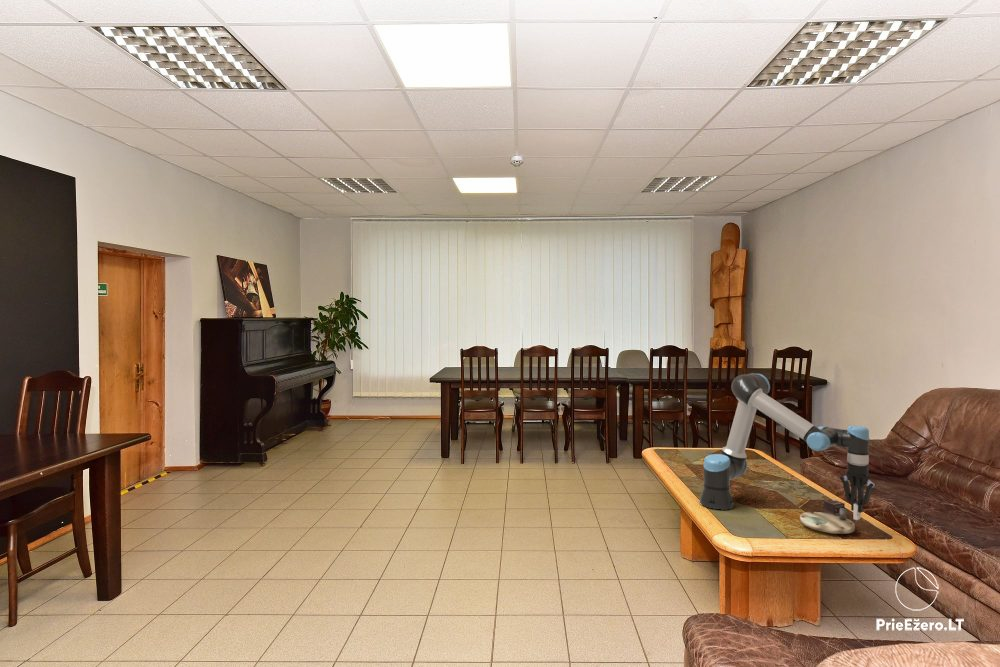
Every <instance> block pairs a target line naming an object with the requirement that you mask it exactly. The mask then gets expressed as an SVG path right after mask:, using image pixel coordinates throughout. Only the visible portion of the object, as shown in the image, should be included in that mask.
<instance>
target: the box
mask: <svg viewBox="0 0 1000 667" xmlns="http://www.w3.org/2000/svg"><path fill="white" fill-rule="evenodd" d="M840 508H844V509H846V508H845V503H844V502H842V501H839V500H836V499H827V500H825V499H824V500H823V507H822V510H823V512H822V513H829V514H834V515H838V516H840Z"/></svg>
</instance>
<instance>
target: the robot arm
mask: <svg viewBox="0 0 1000 667" xmlns="http://www.w3.org/2000/svg"><path fill="white" fill-rule="evenodd" d="M730 387H731V391H732V393H733V395H734V397H735V398H736V399H737V406H736V410H735V414H734V416H733V421H732V424H731V428H730V431H729V435H728V438H727V442H726V446H723V447H722V448H721V451H720V453H714V454H708V455H707V456H705V457H704V459H703V487H702V488H703V489H702V491H701V494H700V495H699V496H700V497H699V504H700V503H701V504H702V505H704V506H706V507H705V508H707V507H709V508H708V509H710V508H713V509H712V510H715V509H721V510H720V511H728V509H729V510H732V509H734V500H733V497H732V494H731V490H730V487H731V484H730V483H731V481H732V480H734V479H737V478H739V477H741V476H743V475H744V474H745V473H746V472H747V469H748V461H747V457H748V456H747V454H746V451H745V450H746V448H747V444H748V441H749V437H750V434H751V431H752V426H753V424H754V420H755V417H756V413H757V410H758V411H760V412H761V413H762V414H764V415H765V416H767V417H769V418H770V419H772V420H773V421H775V422H776V423H778V424H779V425H781V426H782V427H783V428H785V429H787V430H788V431H790V432H791V433H793V434H794V435H795V436H797V437H799V438H800V439H802V440H803V441H804V442H806V444H807V446H808V447H809V449H811V450H812V451H816V452H822V451H826V450H827V449H829V448H832V447H840V448H847V456H846V457H847V459H846V460H847V462H846V463H847V464H846V471H847V472H846V474H845V475H843V476H841V477H839V478H840V481H841V483H842V485H843V486H842V487H843V492H844V494H845V499H846V501H849V502H850V503H851V504H850V505H851V506H850V507H851V508H850V509H851V511H853V513H852V514H853V520H855V521H859V520H861V513H863V512H864V506H865V505H868V504H869V502H870V498H871V496H872V492H873V490H874V488H875V487H876V486H877V485H876V483H875V482H873V481H871V480H870V476H869V470H870V468H869V462H870V461H869V460H870V458H869V456H870V453H869V452H870V430H869V429H868V428H867V427H865V426H861V425H849V426H848V427H847V429H841V428H835V427H828V426H816V425H814V424H813V423H811V422H810V421H808V420H806V419H805V418H803V417H802V416H800V415H798V414H797V413H796V412H794V411H793V410H791V409H789V408H788V407H786V406H785V405H783V404H782V403H780V402H778V401H777V400H775V399H774V398H772V397H771V396H769V395H768V394H769V393H770V390H771V384H770V381H769V380H768V378H767V377H766V376H765V375H763V374H762V373H755V372H752V373H746V374H739V375H737V376H736V377H734V379H733V380H732V382H731V386H730ZM865 486H867V487H866V488H865ZM864 491H865V492H864ZM701 504H700V505H701ZM702 505H701V506H702ZM704 506H703V507H704Z"/></svg>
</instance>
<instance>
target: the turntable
mask: <svg viewBox="0 0 1000 667" xmlns="http://www.w3.org/2000/svg"><path fill="white" fill-rule="evenodd" d="M799 522H800V523H801V524H802V526H805V527H806V528H809V529H811V530H815V531H819V532H823V533H827V534H836V535H837V534H839V535H845V534H846V535H847V534H851V533H853V532H855V526H856V525H855V522H853V521H852V520H851V519H848V518H847V509H846V508H845V509H844V508H840V516H838V515H834V514H829V513H823V512H818V511H805V512H802V513H801V514H800V515H799Z"/></svg>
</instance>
